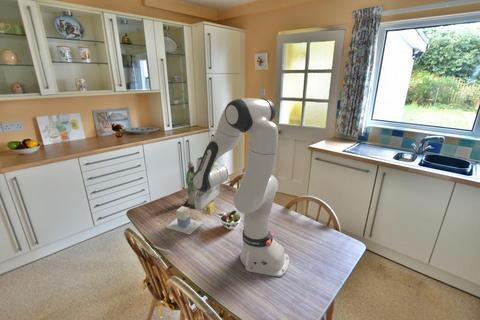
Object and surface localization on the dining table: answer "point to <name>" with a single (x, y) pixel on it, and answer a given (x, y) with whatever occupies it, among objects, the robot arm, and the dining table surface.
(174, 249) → the dining table surface
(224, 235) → the dining table surface
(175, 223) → the build plate
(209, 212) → the block
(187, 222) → the block
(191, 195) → the figurine
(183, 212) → the block
